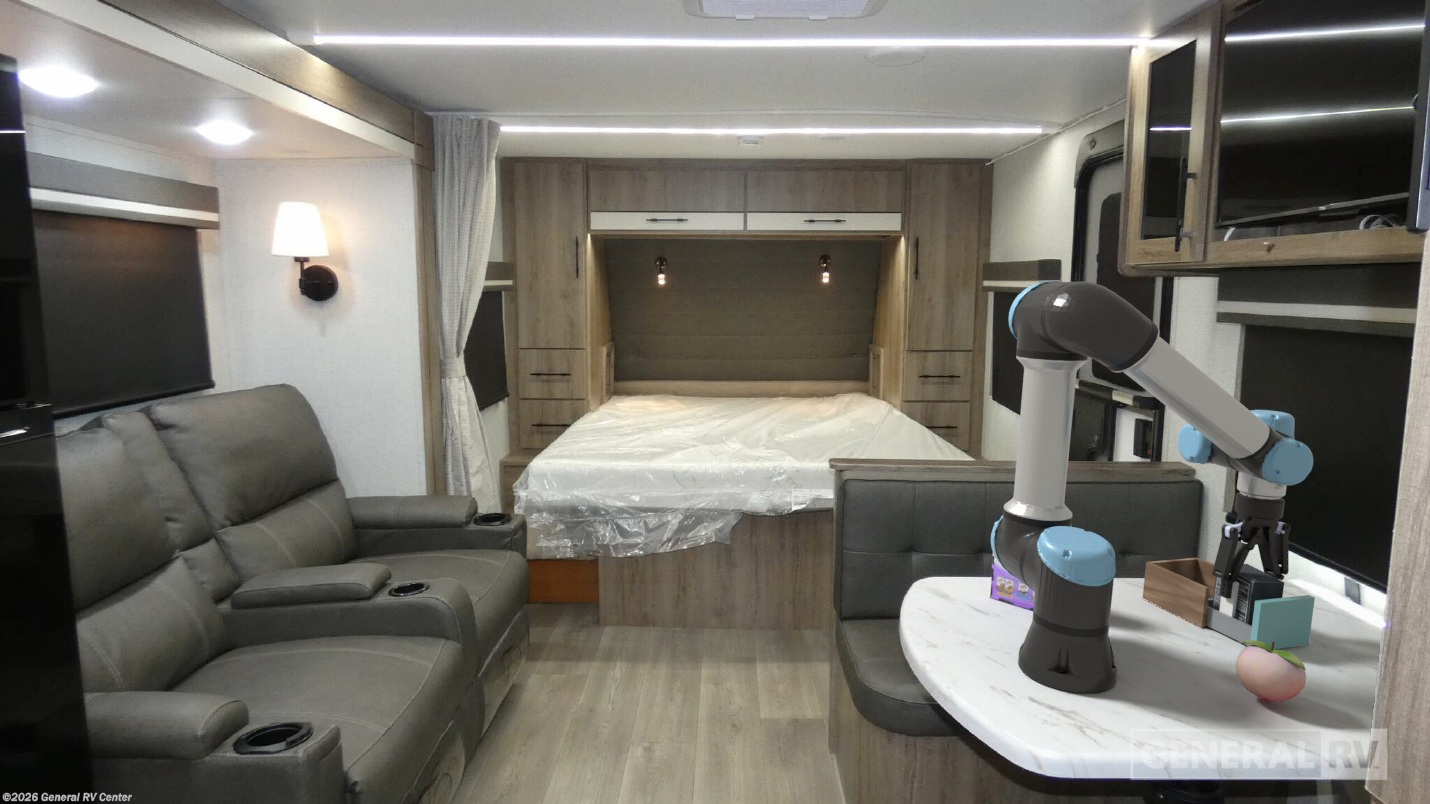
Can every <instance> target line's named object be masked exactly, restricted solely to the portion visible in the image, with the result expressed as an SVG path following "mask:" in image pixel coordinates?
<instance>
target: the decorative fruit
mask: <svg viewBox="0 0 1430 804" xmlns="http://www.w3.org/2000/svg"><path fill="white" fill-rule="evenodd" d="M1274 643H1275V642H1274V641H1273V642H1272V647H1270V646H1269V645H1267V644H1266V643H1263V642H1261V641H1256V640H1247V641H1243V642H1242V643H1241V642H1240V644H1242V645H1245V644H1252V645H1250V646H1247V645H1246V647H1243V648H1242V650H1240V652H1239V654H1238V656H1237V657H1236V662H1235V671H1236V675H1237V678H1238V681H1239V682H1240V684H1241V686H1243V687H1244V688H1245V689H1246V690H1247V691H1248V692H1249V693H1251V694H1252V695H1254V696H1256V697H1258V698H1260V699H1261V701H1262V700H1263V702H1265V703H1280V702H1281V703H1282V702H1287V701H1290V700H1291V699H1294V698H1296V696H1298V695H1299V694H1301V692H1302V691H1303V690H1304V688H1305V686H1306V681H1307V675H1306V670H1307V669H1306V667H1305V665H1304V663H1303V662H1302V660H1300V659H1299V657H1298V656H1296V655H1295V654H1293V653H1291V652H1289V651H1286V650H1281V649H1274Z"/></svg>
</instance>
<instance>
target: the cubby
mask: <svg viewBox="0 0 1430 804" xmlns="http://www.w3.org/2000/svg"><path fill="white" fill-rule="evenodd" d="M1214 564H1215V563H1212V562H1209V561H1206V560H1204V559H1202V558H1200V557H1189V558H1188V557H1187V558H1178V559H1175V558H1174V559H1166V560H1154V561H1146V562H1145V570H1144V571H1145V572H1144V579H1143V589H1142V599H1143V598H1144V599H1146V600H1148V601H1150V602H1152V603H1153V604H1152V603H1151V604H1152V605H1154V604H1156V605H1157V606H1156V605H1155V606H1156V607H1158V606H1159V607H1158V608H1160V607H1161V608H1160V609H1162V610H1164V609H1166V610H1167V611H1166V610H1165V611H1166V612H1168V611H1169V612H1168V613H1170V612H1171V613H1170V614H1172V615H1174V614H1175V615H1174V616H1176V615H1177V616H1176V617H1178V616H1180V617H1181V619H1182V618H1183V619H1182V620H1184V619H1185V620H1184V621H1186V622H1188V621H1189V622H1188V623H1190V624H1192V623H1193V624H1192V625H1194V626H1196V625H1197V626H1196V627H1198V626H1199V627H1198V628H1201V629H1204V628H1205V629H1206V625H1205V623H1206V614H1207V605H1208V599H1210V598H1213V597H1214V589H1215V581H1216V576H1214V575H1213V574H1212V572H1213V568H1214ZM1144 599H1143V600H1144ZM1146 600H1145V601H1146ZM1148 601H1147V602H1148ZM1150 602H1149V603H1150ZM1180 617H1179V618H1180Z"/></svg>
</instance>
